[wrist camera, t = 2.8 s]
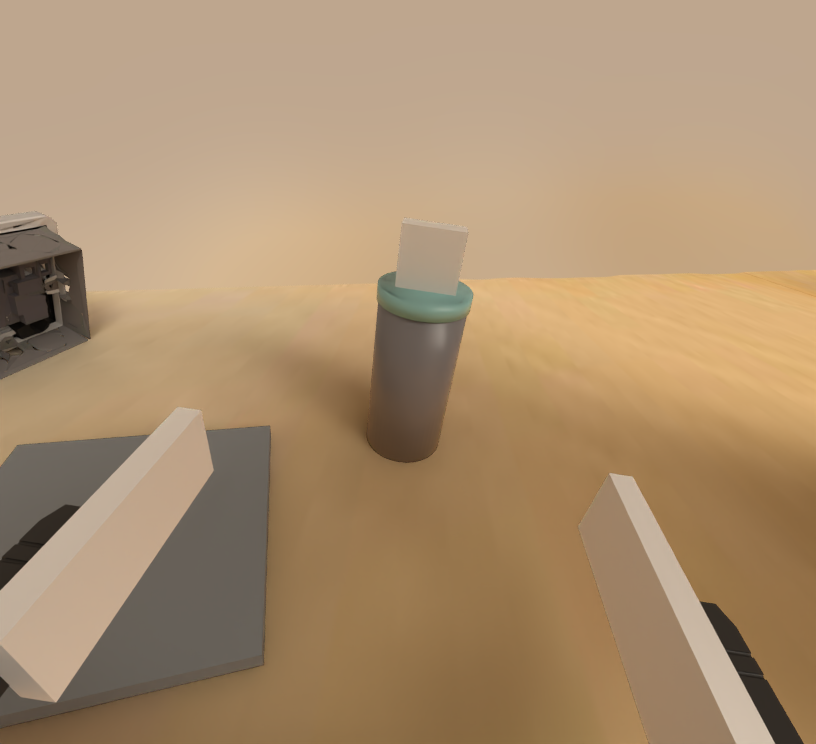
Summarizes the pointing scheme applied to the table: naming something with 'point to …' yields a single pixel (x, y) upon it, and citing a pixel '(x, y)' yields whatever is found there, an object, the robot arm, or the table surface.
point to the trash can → (417, 340)
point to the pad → (158, 569)
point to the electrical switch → (38, 291)
